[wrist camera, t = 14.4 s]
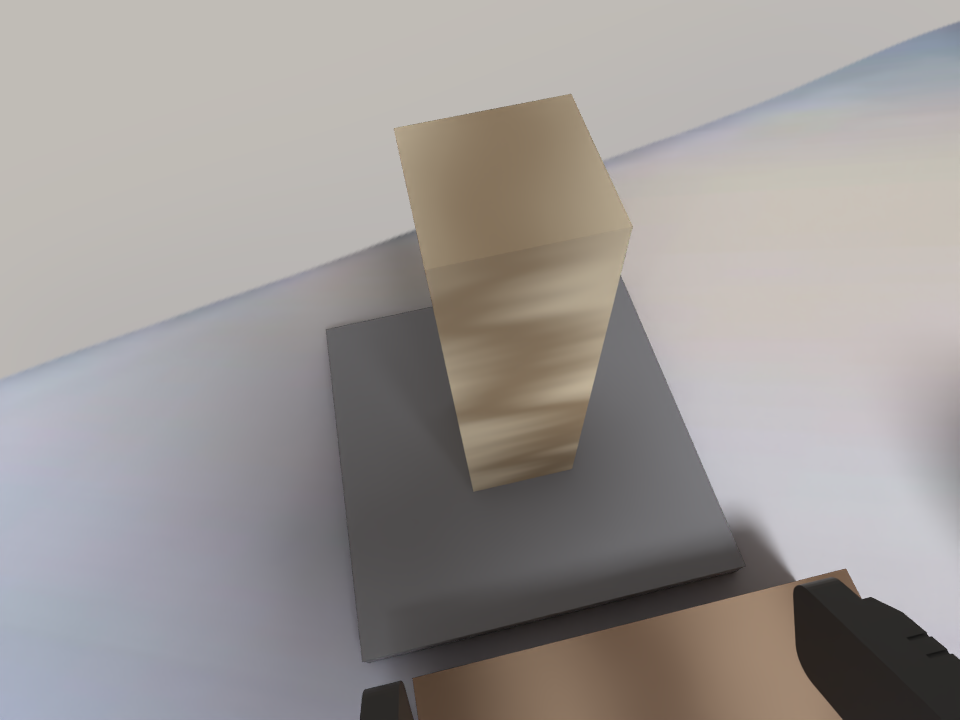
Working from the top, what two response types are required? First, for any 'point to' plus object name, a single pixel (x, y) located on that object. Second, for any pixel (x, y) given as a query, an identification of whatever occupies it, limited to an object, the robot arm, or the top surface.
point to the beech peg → (517, 275)
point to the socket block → (647, 670)
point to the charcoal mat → (510, 494)
